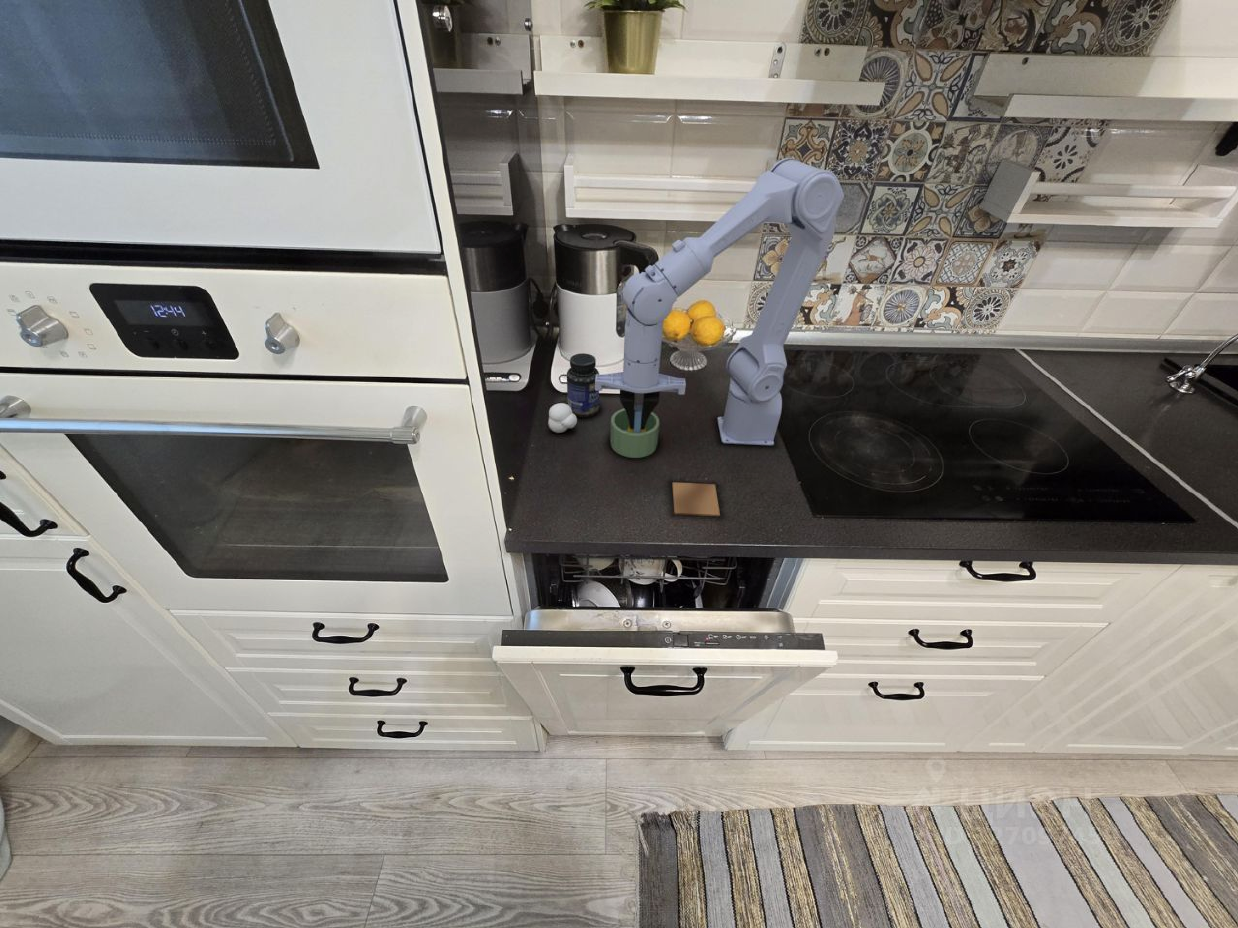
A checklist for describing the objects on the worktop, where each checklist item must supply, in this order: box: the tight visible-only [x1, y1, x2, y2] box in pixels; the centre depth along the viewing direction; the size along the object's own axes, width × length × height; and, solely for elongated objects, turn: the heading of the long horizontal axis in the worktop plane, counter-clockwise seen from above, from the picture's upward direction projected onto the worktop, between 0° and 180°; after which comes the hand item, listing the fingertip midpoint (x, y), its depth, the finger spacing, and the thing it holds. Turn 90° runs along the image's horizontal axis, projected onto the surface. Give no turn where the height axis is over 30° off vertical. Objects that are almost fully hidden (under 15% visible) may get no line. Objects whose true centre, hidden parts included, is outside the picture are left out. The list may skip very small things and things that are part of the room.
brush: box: [628, 404, 646, 433], centre depth 88 cm, size 3×3×7 cm
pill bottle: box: [566, 353, 600, 419], centre depth 97 cm, size 6×6×11 cm
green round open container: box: [609, 406, 660, 459], centre depth 91 cm, size 8×8×5 cm
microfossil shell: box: [547, 402, 578, 434], centre depth 93 cm, size 4×5×6 cm
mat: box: [671, 482, 721, 517], centre depth 82 cm, size 7×7×1 cm
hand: (637, 425), depth 88 cm, fingers closed on brush
